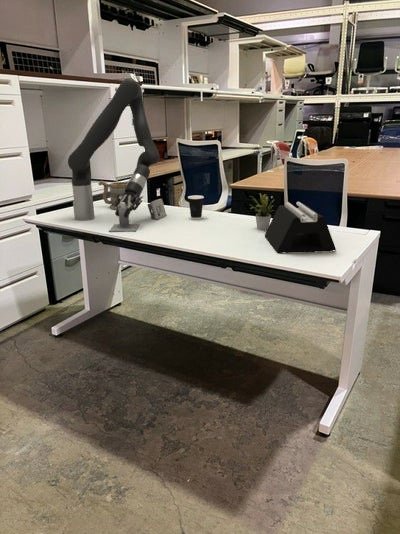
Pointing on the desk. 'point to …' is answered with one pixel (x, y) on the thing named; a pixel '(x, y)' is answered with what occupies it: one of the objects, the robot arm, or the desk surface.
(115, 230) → the mat
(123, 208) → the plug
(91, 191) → the robot arm
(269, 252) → the desk surface
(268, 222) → the house plant
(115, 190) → the tankard
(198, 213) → the dixie cup
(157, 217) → the electrical switch
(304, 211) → the device stand
